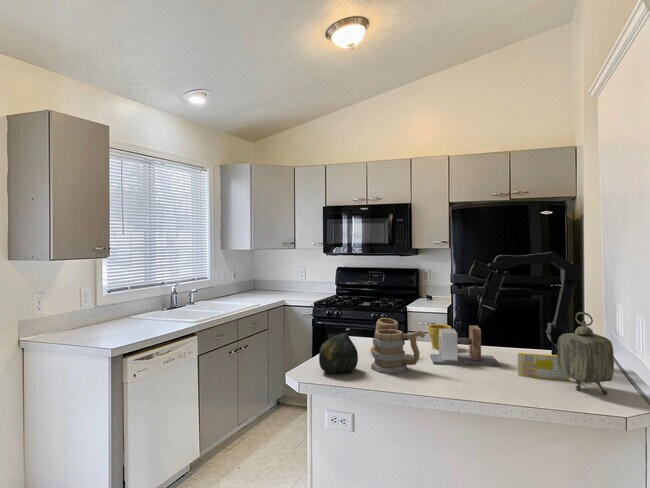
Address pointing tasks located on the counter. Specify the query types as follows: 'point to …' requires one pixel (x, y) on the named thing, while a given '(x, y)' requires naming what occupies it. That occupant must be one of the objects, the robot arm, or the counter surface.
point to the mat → (466, 360)
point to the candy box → (539, 366)
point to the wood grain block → (473, 342)
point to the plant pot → (436, 334)
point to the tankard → (393, 350)
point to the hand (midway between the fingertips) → (479, 320)
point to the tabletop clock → (585, 356)
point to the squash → (338, 354)
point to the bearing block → (448, 345)
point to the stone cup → (385, 326)
